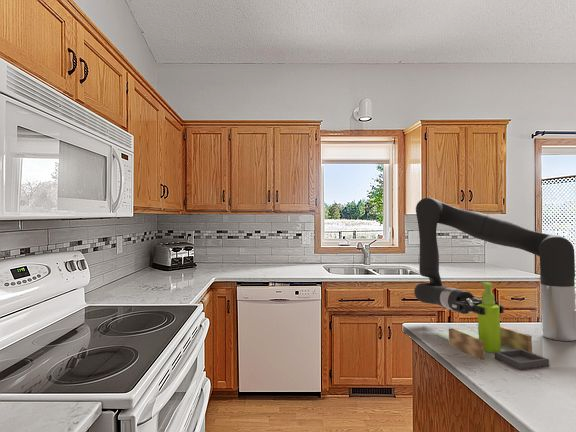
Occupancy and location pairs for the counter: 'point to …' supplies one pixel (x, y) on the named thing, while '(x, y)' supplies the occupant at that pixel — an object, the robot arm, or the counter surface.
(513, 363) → the pit tray
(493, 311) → the soap dispenser
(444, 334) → the mat
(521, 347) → the oak channel
